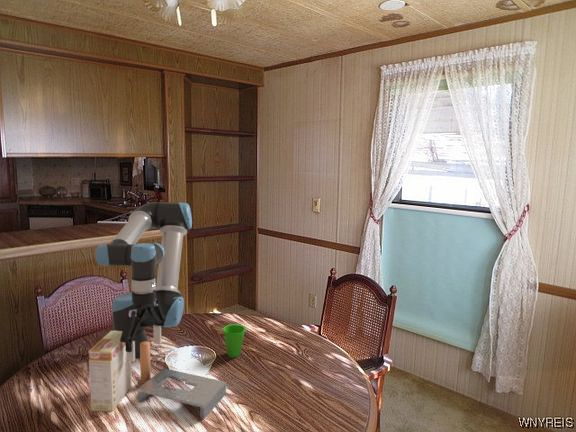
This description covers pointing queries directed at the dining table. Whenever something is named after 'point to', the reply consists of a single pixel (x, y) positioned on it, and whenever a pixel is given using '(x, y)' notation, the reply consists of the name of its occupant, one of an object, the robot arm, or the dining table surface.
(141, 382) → the headed peg
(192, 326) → the dining table surface
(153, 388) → the keyhole plate
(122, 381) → the coffeecake box
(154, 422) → the dining table surface
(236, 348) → the cup
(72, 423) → the dining table surface
